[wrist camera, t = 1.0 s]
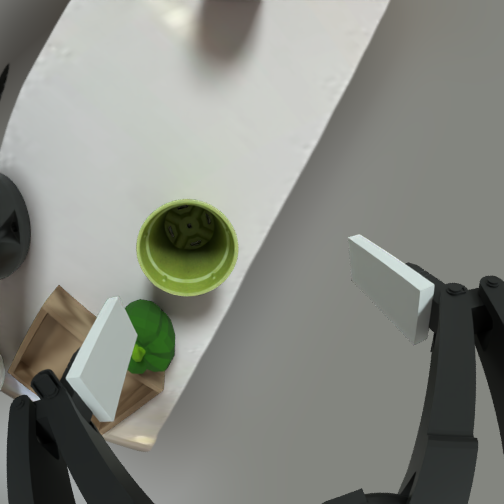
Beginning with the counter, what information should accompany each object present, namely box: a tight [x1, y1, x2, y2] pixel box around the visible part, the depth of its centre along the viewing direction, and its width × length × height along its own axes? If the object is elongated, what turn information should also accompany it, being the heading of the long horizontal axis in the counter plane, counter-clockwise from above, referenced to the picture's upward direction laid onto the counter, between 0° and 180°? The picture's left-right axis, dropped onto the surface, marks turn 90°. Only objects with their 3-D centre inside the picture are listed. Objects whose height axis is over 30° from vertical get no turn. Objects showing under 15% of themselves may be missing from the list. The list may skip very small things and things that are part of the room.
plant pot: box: [136, 199, 238, 296], centre depth 30 cm, size 9×9×9 cm
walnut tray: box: [8, 285, 165, 435], centre depth 36 cm, size 20×20×5 cm
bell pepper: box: [125, 299, 175, 374], centre depth 33 cm, size 8×8×10 cm
